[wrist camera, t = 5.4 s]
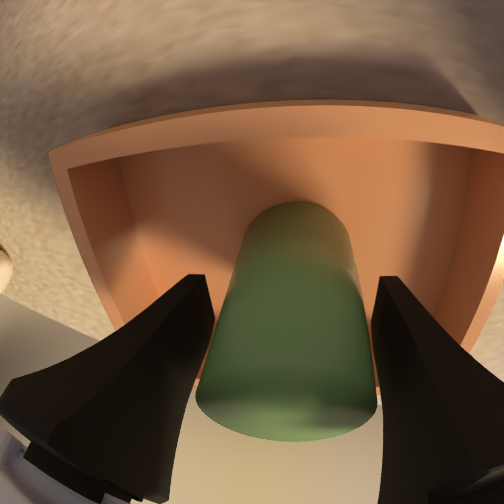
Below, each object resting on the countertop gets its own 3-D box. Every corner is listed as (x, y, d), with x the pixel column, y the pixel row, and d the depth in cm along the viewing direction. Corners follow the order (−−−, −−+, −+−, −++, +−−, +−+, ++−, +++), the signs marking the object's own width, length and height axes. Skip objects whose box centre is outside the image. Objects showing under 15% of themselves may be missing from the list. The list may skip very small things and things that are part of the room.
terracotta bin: (478, 115, 8) (536, 136, 5) (431, 332, 14) (447, 387, 11) (108, 128, 11) (47, 151, 8) (167, 326, 18) (141, 376, 14)
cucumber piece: (353, 200, 10) (398, 362, 5) (347, 291, 13) (359, 440, 7) (234, 204, 11) (170, 358, 6) (250, 292, 14) (217, 435, 8)
